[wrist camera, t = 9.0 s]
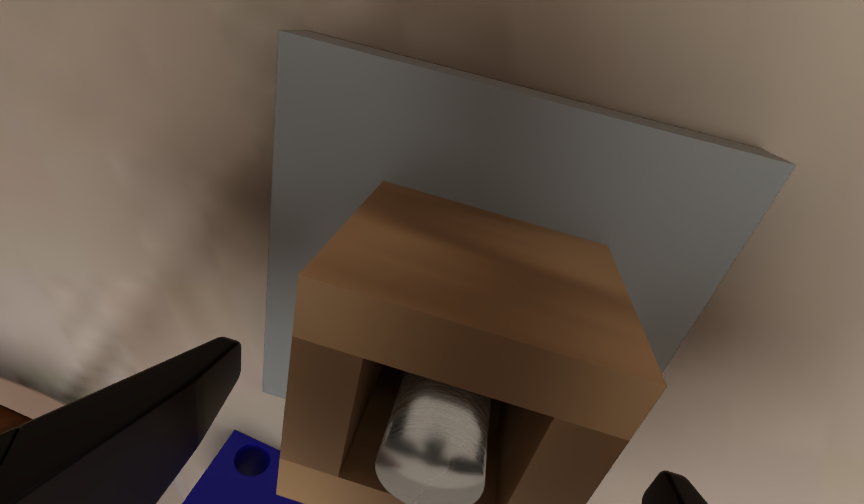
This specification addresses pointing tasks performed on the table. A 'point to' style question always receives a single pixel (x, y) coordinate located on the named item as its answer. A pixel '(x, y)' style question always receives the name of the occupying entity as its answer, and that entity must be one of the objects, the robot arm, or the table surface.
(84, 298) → the table surface
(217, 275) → the table surface
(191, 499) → the blue curved bracket
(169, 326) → the table surface
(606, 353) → the wooden hollow block
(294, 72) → the post stand
